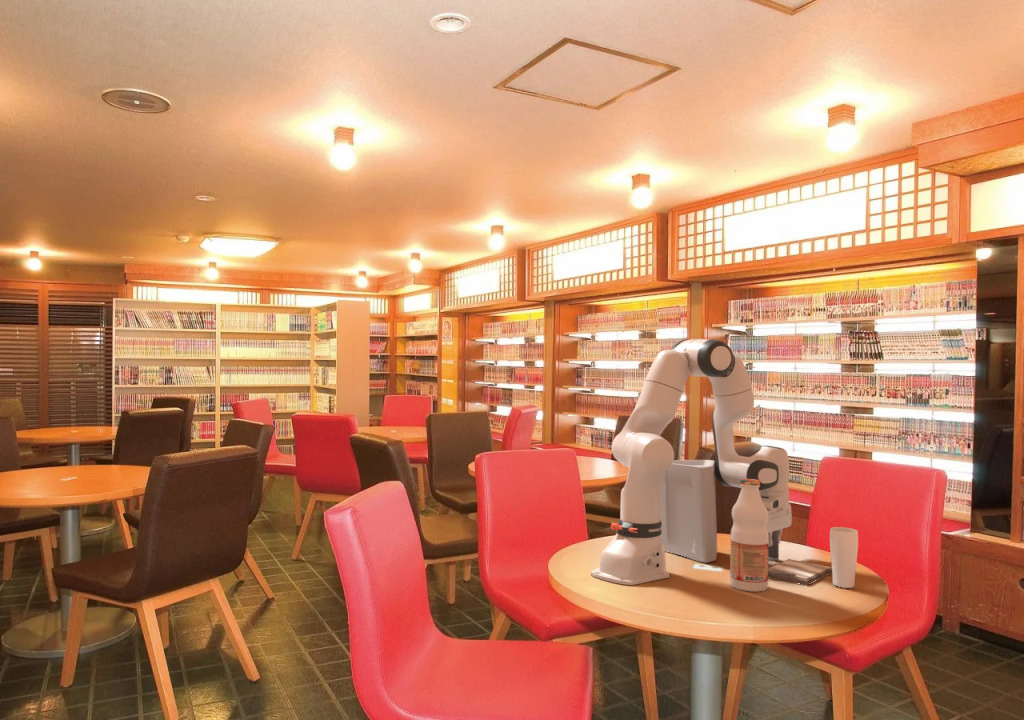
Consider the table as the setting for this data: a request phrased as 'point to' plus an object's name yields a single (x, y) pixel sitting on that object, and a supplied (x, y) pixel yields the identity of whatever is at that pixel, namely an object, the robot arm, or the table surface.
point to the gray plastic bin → (689, 510)
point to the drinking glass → (843, 556)
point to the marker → (774, 547)
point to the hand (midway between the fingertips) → (772, 544)
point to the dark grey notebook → (798, 571)
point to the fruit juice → (749, 540)
